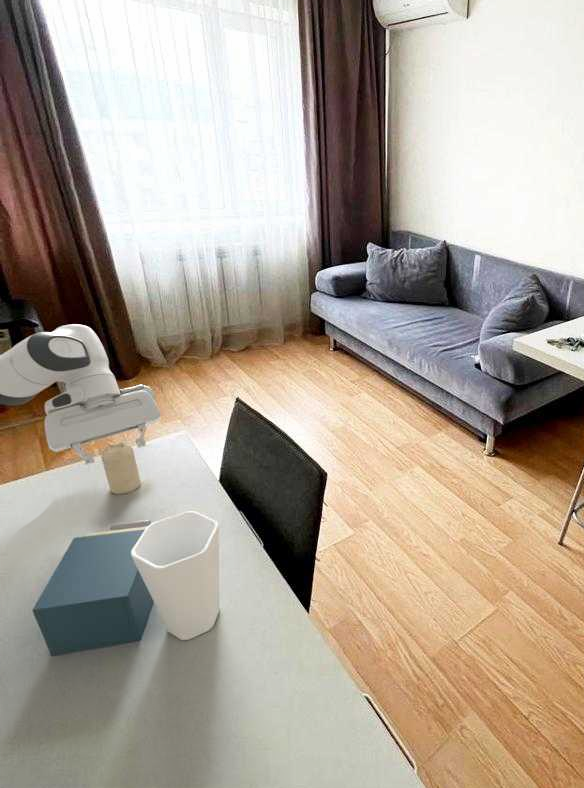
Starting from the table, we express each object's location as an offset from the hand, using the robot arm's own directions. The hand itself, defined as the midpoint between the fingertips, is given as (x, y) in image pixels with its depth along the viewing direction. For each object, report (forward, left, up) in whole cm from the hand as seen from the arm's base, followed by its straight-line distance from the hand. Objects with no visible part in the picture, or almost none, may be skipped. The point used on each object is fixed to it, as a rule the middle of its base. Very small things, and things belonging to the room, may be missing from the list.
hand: (116, 454), depth 103 cm
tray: (+8, -29, -6) cm, 31 cm away
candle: (+1, -2, -7) cm, 7 cm away
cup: (+21, -38, -7) cm, 44 cm away
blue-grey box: (+8, -34, -7) cm, 36 cm away
